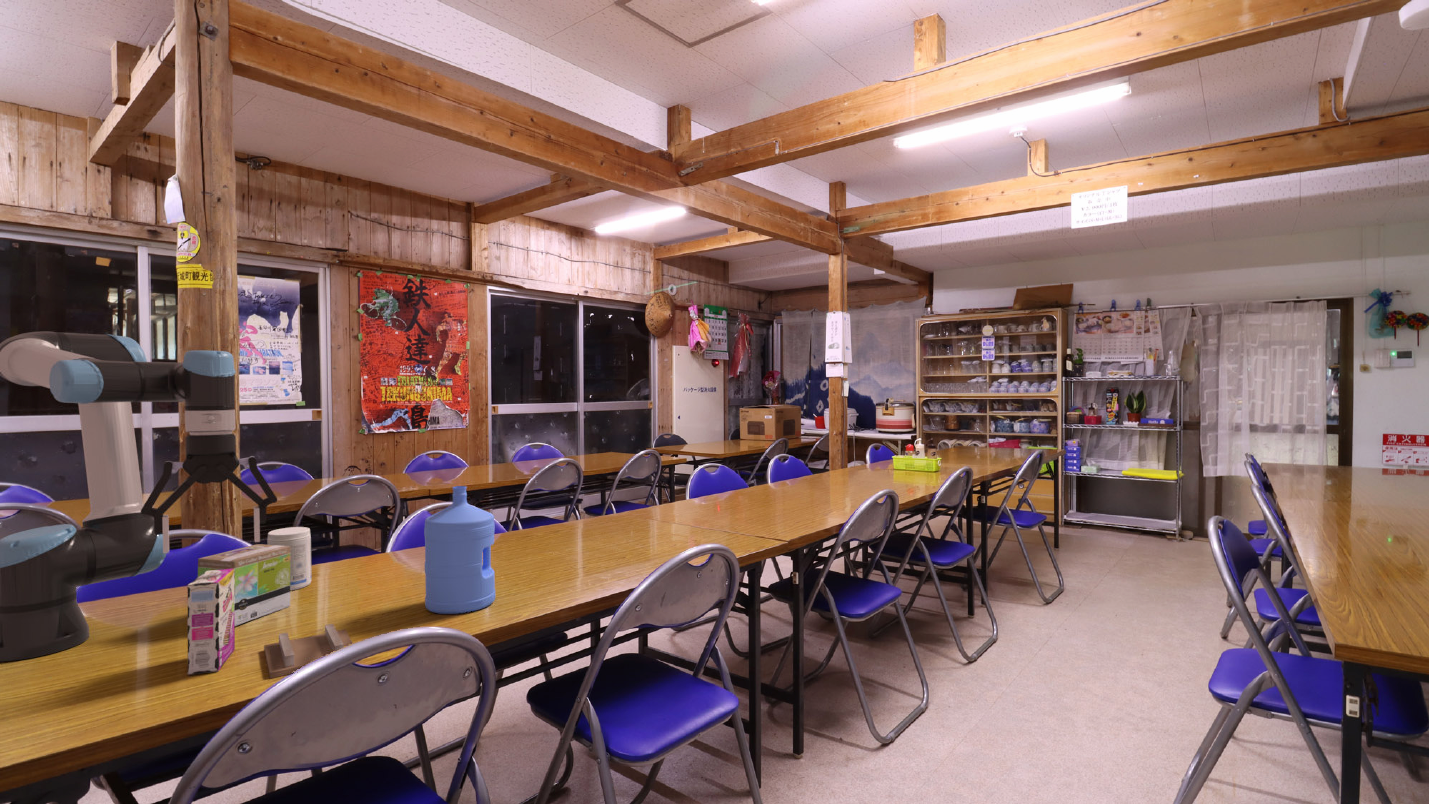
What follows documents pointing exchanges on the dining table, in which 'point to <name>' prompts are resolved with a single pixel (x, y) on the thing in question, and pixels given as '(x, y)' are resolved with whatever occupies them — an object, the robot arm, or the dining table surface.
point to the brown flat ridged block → (302, 650)
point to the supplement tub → (295, 553)
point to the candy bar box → (211, 620)
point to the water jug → (459, 557)
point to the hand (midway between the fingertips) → (213, 546)
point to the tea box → (255, 578)
